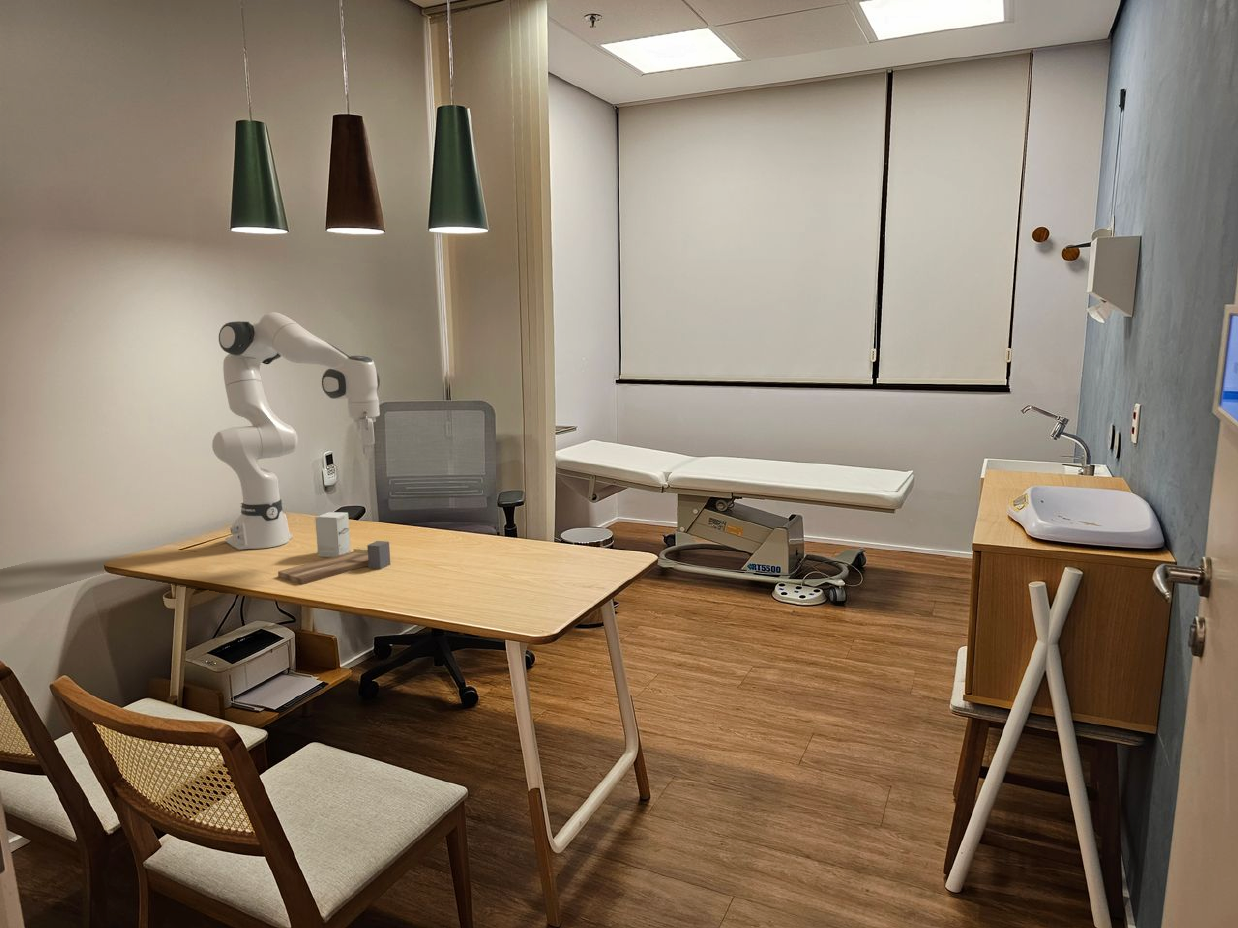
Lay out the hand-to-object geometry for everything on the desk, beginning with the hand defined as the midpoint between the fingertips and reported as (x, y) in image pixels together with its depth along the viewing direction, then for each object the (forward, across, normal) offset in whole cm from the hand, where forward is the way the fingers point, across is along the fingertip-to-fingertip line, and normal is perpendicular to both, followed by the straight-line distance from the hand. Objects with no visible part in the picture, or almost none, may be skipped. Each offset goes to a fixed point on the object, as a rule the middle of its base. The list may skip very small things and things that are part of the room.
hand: (367, 456), depth 244 cm
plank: (+31, -9, +12) cm, 35 cm away
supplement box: (+31, +7, +11) cm, 34 cm away
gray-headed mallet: (+31, -11, +2) cm, 33 cm away
